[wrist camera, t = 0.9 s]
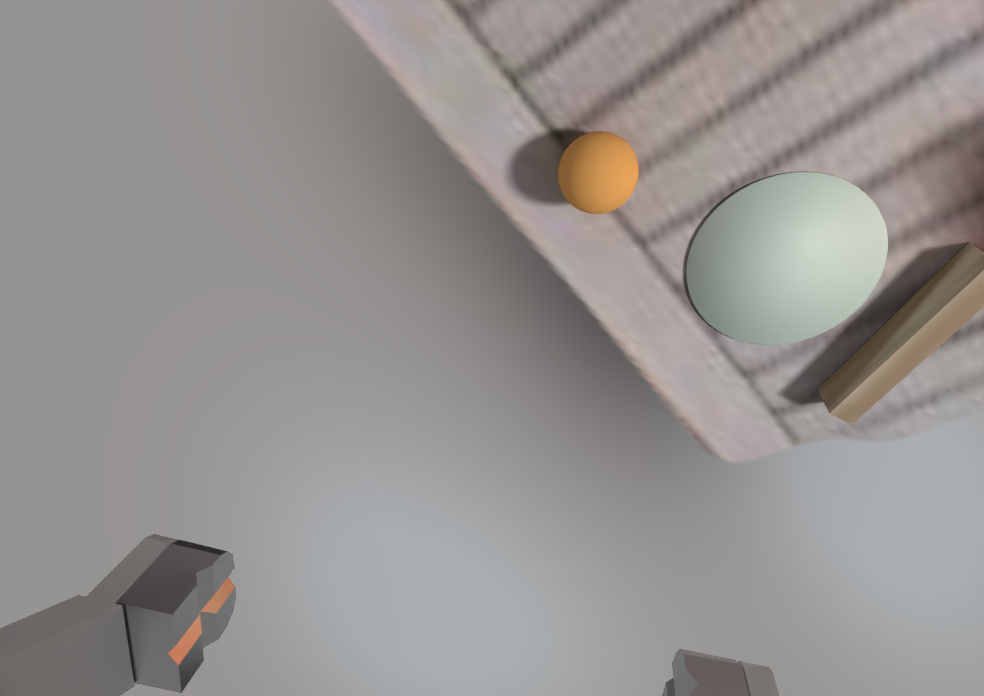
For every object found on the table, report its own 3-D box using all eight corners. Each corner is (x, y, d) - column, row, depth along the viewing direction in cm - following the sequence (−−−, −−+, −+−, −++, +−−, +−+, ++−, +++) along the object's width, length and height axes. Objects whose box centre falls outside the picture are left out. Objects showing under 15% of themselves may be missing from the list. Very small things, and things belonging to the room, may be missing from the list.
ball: (579, 110, 40) (578, 129, 36) (650, 141, 41) (657, 164, 37) (547, 181, 43) (543, 206, 39) (613, 209, 44) (616, 238, 39)
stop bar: (817, 389, 49) (829, 413, 47) (968, 242, 42) (992, 261, 39) (838, 400, 50) (851, 424, 47) (992, 256, 42) (1017, 276, 40)
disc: (755, 139, 40) (756, 139, 40) (931, 219, 41) (933, 220, 41) (652, 303, 47) (652, 305, 47) (806, 368, 48) (807, 369, 48)
